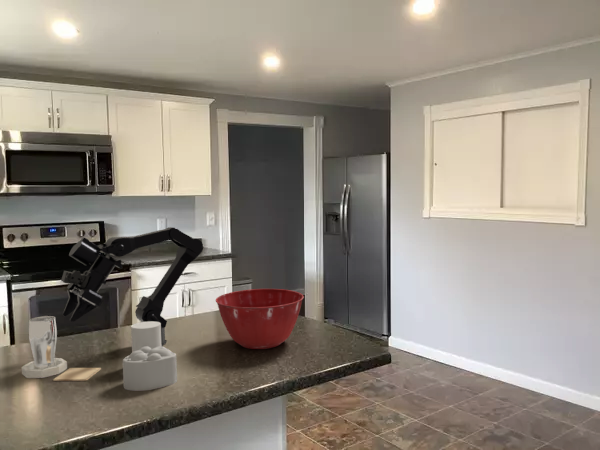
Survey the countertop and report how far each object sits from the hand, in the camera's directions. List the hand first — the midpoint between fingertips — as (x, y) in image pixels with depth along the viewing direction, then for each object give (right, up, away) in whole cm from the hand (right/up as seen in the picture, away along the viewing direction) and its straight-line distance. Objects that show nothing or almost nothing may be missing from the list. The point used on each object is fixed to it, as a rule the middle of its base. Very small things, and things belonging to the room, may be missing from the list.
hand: (67, 318), depth 152 cm
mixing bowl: (+56, -11, +16) cm, 59 cm away
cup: (+25, -13, -5) cm, 29 cm away
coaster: (+8, -13, -11) cm, 19 cm away
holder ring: (-3, -14, -7) cm, 16 cm away
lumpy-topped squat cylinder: (+30, -14, -18) cm, 37 cm away
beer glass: (-3, -14, -7) cm, 16 cm away
